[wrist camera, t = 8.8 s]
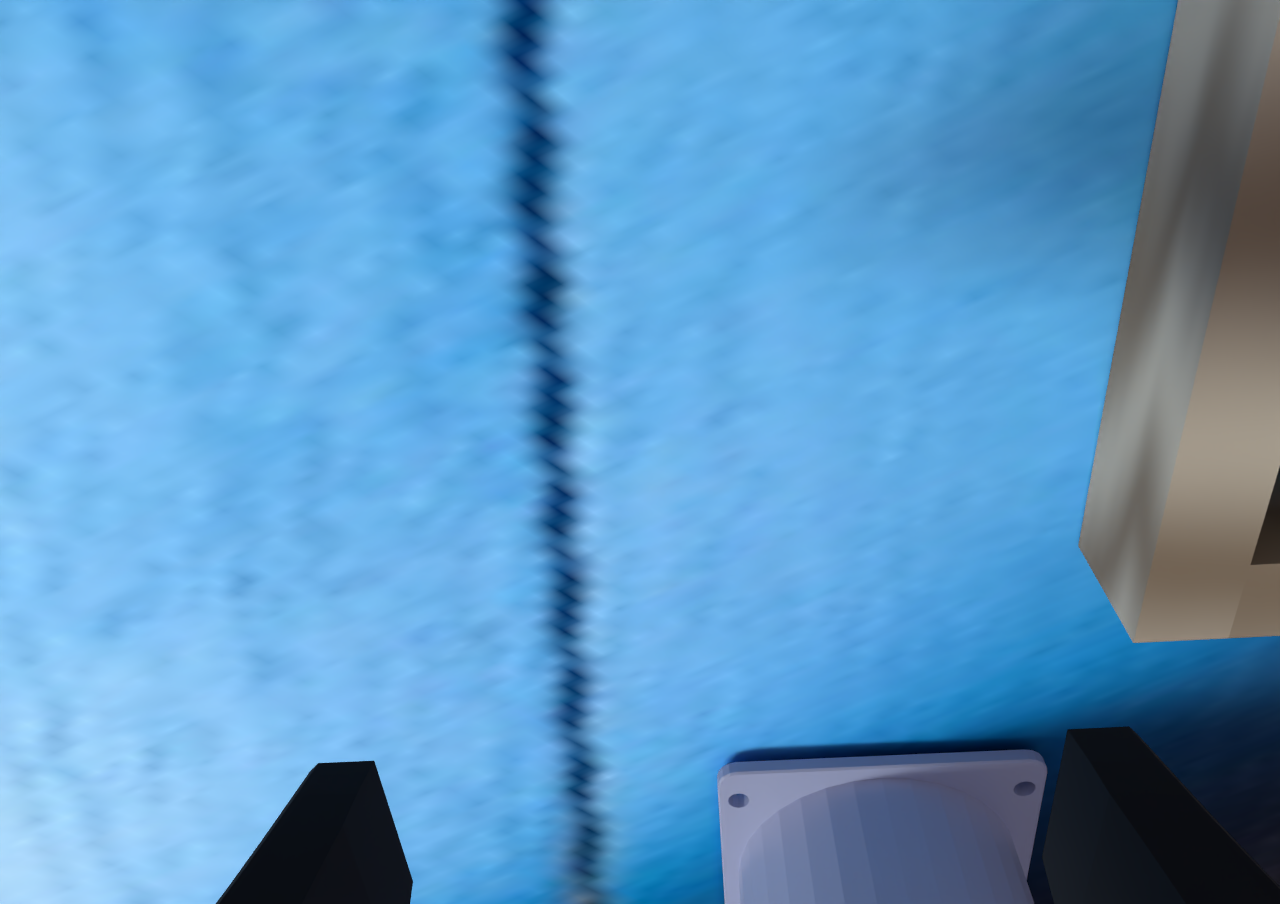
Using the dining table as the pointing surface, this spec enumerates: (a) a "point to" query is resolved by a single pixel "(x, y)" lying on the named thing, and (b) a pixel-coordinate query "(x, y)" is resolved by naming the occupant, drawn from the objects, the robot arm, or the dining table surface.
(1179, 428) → the hole block
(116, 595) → the dining table surface
